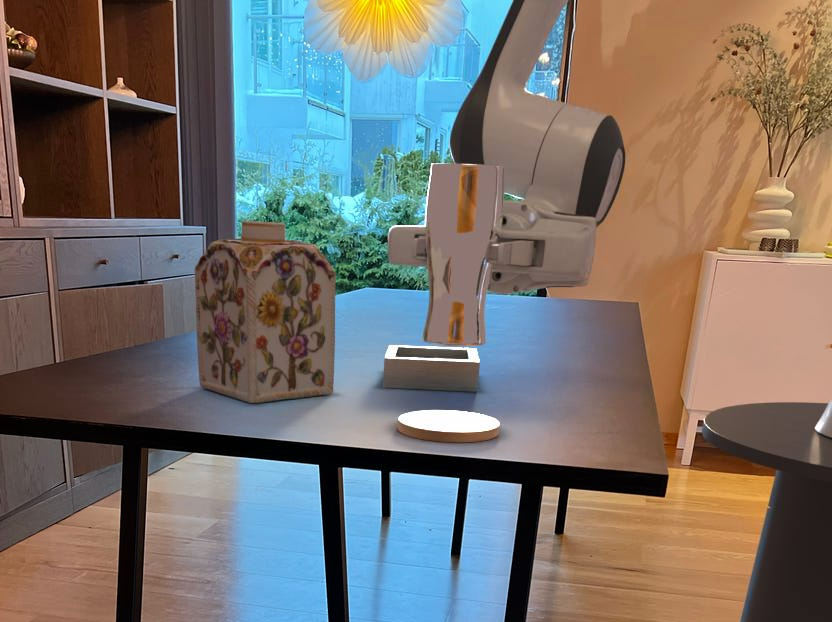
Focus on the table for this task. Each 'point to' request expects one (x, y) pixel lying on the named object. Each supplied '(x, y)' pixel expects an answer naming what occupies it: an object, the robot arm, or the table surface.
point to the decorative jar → (265, 316)
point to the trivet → (448, 426)
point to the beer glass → (461, 249)
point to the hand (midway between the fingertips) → (456, 251)
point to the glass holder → (431, 368)
